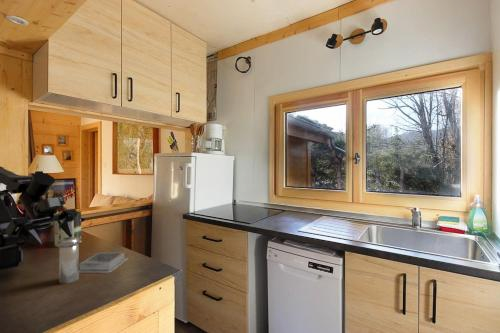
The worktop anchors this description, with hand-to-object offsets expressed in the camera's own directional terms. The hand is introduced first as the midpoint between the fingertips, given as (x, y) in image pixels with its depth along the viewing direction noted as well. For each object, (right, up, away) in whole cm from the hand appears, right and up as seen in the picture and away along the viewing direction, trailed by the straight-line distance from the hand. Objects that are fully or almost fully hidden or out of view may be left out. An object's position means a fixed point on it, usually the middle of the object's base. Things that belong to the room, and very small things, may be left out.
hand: (57, 240), depth 80 cm
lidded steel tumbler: (+5, -12, -2) cm, 13 cm away
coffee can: (-22, -12, +34) cm, 42 cm away
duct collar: (+10, -12, +9) cm, 18 cm away
